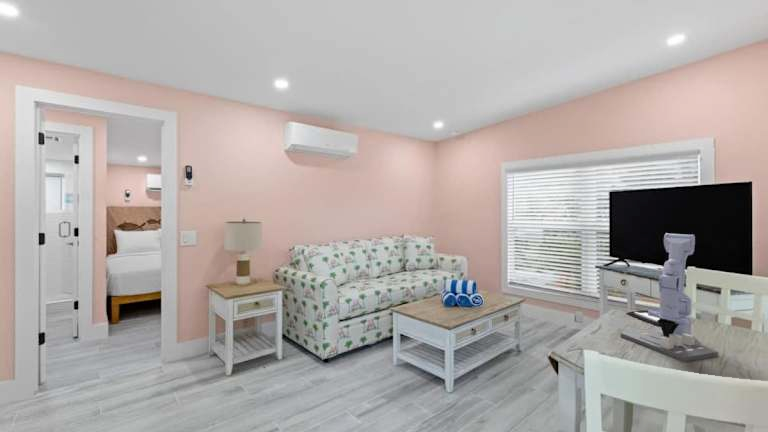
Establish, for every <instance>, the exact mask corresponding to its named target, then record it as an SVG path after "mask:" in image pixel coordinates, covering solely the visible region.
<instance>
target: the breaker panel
mask: <svg viewBox="0 0 768 432" xmlns="http://www.w3.org/2000/svg"><path fill="white" fill-rule="evenodd" d="M659 331H660V330H656V329H652V328H649V329H641V330H635V331H634V330H633V331H626V332H621V333H620V337H621V338H623V339H625V340H629V341H631V342H634V343H636V344H638V345H641V346H644V347H647V348H649V349H652V350H653V351H654V350H655V351H656V352H660V353H662V354H664V355H667V356H670V357H673V358H675V359H677V360H679V361H682V362H689V361H690V362H691V361H695V360H701V359H706V358H707V359H708V358H711V357H717V356H718V355H719V351H717V350H715V349H712V348H709V347H707V346H706V347H705V346H703V345H700V344H697V343H696V336H695V335H693V334H691V335H690V334H687V333H685V334H682V346H675V345H673V344H674V339H671V338H668V337H664V335H663V333H662V332H659Z"/></svg>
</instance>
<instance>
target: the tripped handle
mask: <svg viewBox="0 0 768 432" xmlns="http://www.w3.org/2000/svg"><path fill="white" fill-rule="evenodd" d="M669 338H671V339H674V344H673V345H675V346H682V336H679V335H676V334H669Z"/></svg>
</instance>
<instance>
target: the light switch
mask: <svg viewBox="0 0 768 432" xmlns="http://www.w3.org/2000/svg"><path fill="white" fill-rule="evenodd" d="M648 311H649V310H648V309H647V310H646V309H645V310H635V311H629V312H626V314H625V315H627V316H629V315H630V316H629V317H631V316H632V318H634V319H636V318H637V319H636V320H639V321H641V320H642V322H643V323H646V322H647V323H646V324H649V323H650V324H649V325H652V324H653V325H652V326H655V327H660V325H659V323H658V320H659V319H660V318H657V317H654V316H649V315H648Z"/></svg>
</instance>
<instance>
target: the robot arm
mask: <svg viewBox="0 0 768 432" xmlns="http://www.w3.org/2000/svg"><path fill="white" fill-rule="evenodd" d="M663 245H664V249H665V252H666V253H669V254H668V260H666V261H665V262H664V264H663V269H662V273H661V275H659V277H658V289H659V293H660V294H659V311H655V310H651V309H650V310H648V315H649V316H654V317H657V318H660V319H659V320H658V323H659V325H660V326H659V327H660V329H661V330H658V331H659V332H662V333H663V335H664V337H668V338H669V334H676V335H679V336H682V334H685V333H687V334H690V335H692V319H691V317H690V316H691V314H692V299H691V297H690V296H688V295H687V294H686V293H685V292H684V289H685V288H684V287H685V274H686V263H687V262H686V261H687V258H688V256H692V255H694V252H695V245H696V236H695V234H683V233H681V234H680V233H668V232H665V234H664V236H663Z"/></svg>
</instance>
